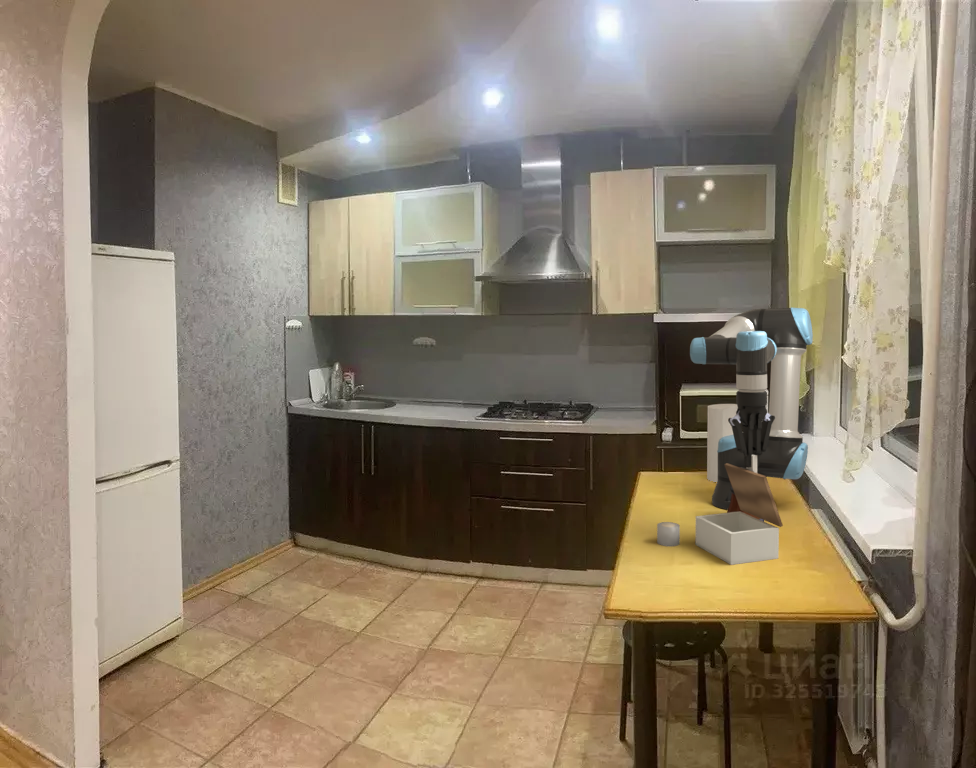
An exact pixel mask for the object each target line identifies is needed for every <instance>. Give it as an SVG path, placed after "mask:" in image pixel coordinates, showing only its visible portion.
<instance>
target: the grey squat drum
mask: <svg viewBox="0 0 976 768" xmlns="http://www.w3.org/2000/svg"><path fill="white" fill-rule="evenodd" d="M656 525H657V526H656V529H657V530H656V531H657V536H656V537H657V538H656V540H657V541H656V542H657V544H658V545H660V546H664V547H676V546H679V545H680V539H681V538H680V537H681V536H680V535H681V532H680V530H681V529H680V524H679V523H676V522H671V521H663V522H662V521H661V522H658V523H657V524H656Z"/></svg>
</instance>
